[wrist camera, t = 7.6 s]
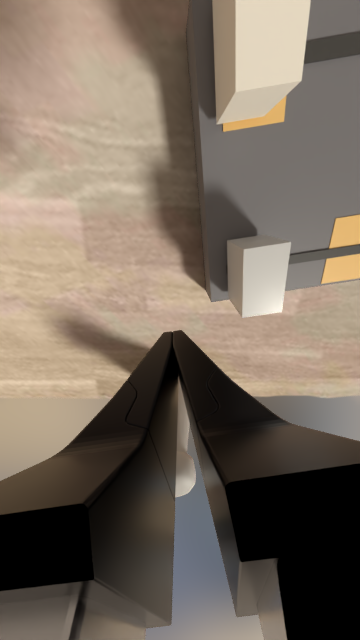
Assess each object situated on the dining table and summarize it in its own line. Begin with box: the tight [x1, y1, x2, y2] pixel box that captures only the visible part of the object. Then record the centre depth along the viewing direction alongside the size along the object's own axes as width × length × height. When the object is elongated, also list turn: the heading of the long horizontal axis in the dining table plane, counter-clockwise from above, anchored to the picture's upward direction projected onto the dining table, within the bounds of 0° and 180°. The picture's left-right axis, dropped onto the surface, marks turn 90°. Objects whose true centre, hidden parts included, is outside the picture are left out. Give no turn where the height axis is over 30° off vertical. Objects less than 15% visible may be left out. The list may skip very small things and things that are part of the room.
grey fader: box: [227, 235, 291, 318], centre depth 15 cm, size 3×5×4 cm, turn 8°
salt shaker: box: [175, 381, 196, 497], centre depth 22 cm, size 6×6×13 cm
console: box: [186, 0, 360, 302], centre depth 16 cm, size 16×18×3 cm
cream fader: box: [212, 0, 311, 124], centre depth 9 cm, size 3×5×4 cm, turn 8°
